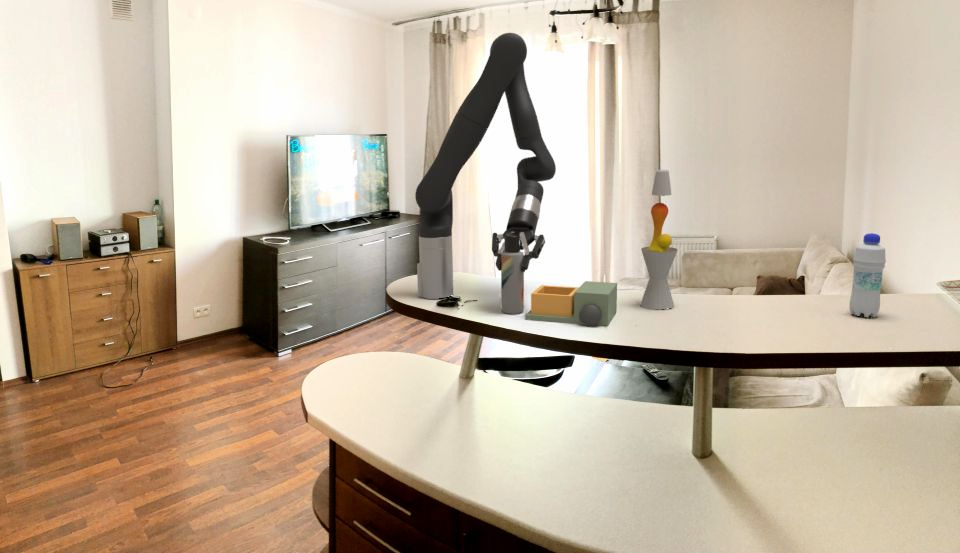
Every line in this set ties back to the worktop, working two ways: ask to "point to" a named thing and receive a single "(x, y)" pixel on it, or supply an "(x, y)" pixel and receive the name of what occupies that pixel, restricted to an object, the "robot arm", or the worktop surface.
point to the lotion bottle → (512, 276)
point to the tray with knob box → (575, 304)
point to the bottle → (867, 276)
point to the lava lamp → (659, 251)
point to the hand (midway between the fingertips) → (510, 269)
